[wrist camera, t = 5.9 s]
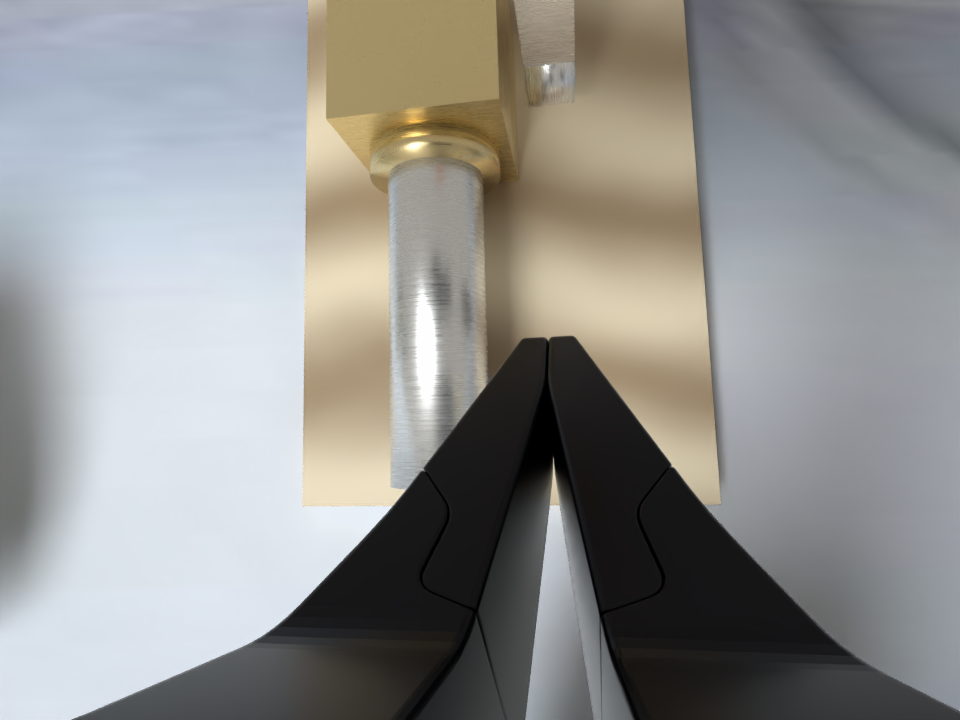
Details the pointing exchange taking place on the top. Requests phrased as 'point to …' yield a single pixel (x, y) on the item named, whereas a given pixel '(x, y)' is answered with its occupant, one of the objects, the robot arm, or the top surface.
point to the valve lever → (547, 50)
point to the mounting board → (530, 254)
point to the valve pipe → (428, 188)
